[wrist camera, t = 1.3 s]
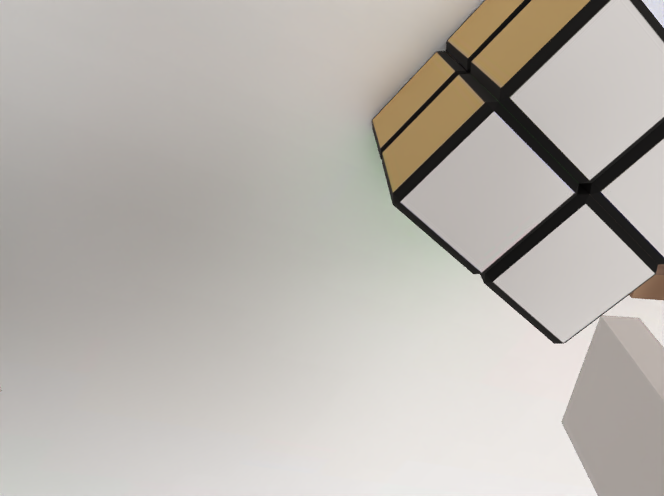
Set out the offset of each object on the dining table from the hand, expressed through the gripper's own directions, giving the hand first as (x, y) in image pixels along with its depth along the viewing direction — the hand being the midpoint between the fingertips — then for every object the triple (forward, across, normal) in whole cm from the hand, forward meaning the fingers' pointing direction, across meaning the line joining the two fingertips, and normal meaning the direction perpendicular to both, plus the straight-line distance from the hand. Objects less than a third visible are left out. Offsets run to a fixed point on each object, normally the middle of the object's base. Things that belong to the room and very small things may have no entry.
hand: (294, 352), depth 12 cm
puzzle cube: (+20, +10, 0) cm, 23 cm away
